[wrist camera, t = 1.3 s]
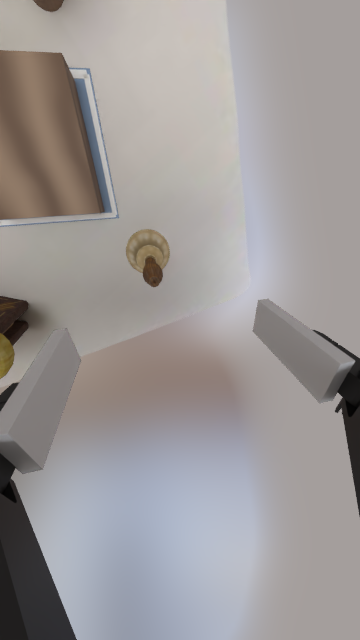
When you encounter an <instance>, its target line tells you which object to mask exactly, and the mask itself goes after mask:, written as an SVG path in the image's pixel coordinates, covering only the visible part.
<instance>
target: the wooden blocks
mask: <svg viewBox="0 0 360 640" xmlns="http://www.w3.org/2000/svg"><path fill="white" fill-rule="evenodd" d="M33 1H34V2H35V3H36V4H37V5H38V6H39V7H41V8H42V9H44V10H46V11H50V12H53V11H57V10H58V9H59V8H60V7H61V5H62V3H63V0H33Z"/></svg>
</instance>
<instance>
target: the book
mask: <svg viewBox="0 0 360 640" xmlns="http://www.w3.org/2000/svg"><path fill="white" fill-rule="evenodd" d="M27 309H28V302H27V301H23V300H18V299H13V298H8V297H3V296H0V379H1V378H2V377H4V376H5V375H6V374H7V372H8V371H9V370H10V368H11V366H12V365H13V361H14V350H13V345H14V344H15V343H16V341H17V340H18V339H19V338H20V337H21V336H22V335H23V333H24V332H25V331H26V330H27V329H28V322H26V321H20V320H16V319H17V318H19V317H20V316H21V315H22V314H23V313H24V312H25V311H26V310H27Z"/></svg>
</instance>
